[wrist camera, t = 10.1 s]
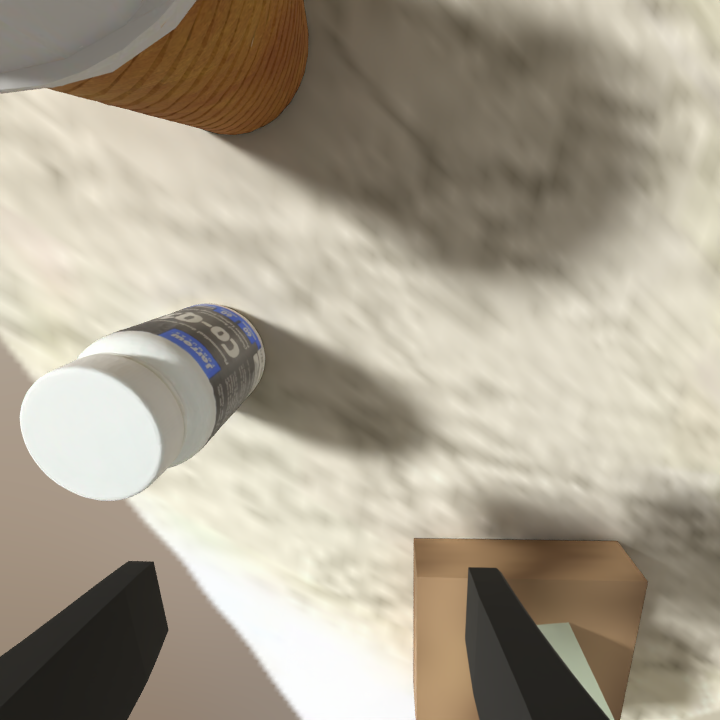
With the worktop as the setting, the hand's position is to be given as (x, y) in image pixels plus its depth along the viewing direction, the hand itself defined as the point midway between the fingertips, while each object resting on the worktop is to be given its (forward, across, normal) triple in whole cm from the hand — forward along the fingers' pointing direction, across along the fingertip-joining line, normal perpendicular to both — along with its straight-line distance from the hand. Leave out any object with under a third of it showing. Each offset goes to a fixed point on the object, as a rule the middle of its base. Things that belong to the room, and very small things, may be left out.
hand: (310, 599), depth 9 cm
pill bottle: (+11, +6, -3) cm, 13 cm away
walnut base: (+10, -8, +12) cm, 18 cm away
